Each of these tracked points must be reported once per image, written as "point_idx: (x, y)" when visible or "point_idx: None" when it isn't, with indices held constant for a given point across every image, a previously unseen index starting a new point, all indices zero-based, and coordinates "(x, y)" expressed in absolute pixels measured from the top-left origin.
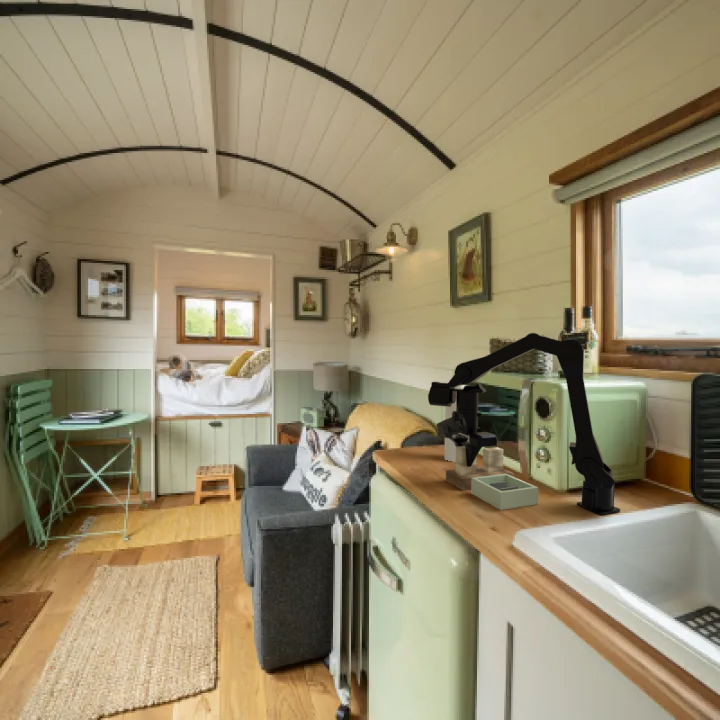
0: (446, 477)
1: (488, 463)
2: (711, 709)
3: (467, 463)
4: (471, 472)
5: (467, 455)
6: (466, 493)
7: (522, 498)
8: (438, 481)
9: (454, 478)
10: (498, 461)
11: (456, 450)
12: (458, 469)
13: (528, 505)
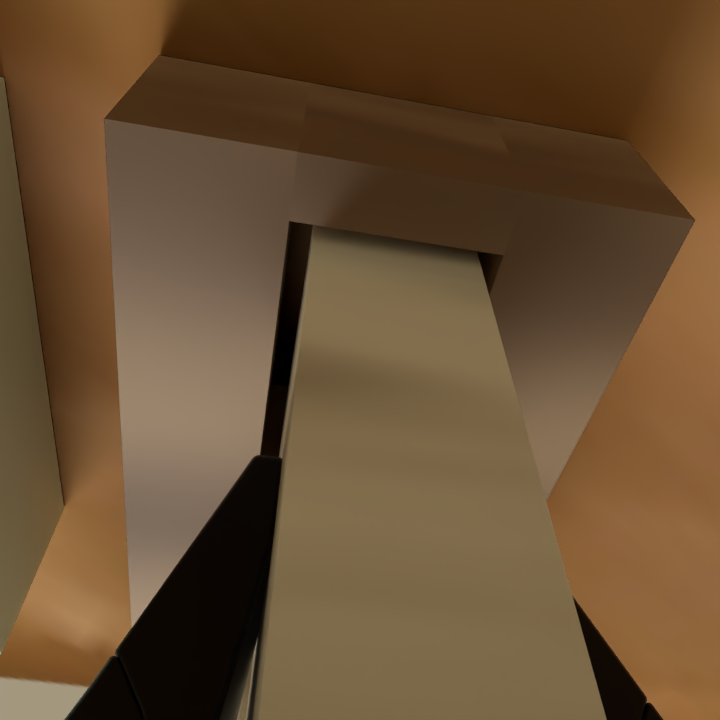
0: (630, 163)
1: (244, 709)
2: None
3: (246, 495)
4: (283, 435)
5: (156, 659)
6: (28, 11)
7: None
8: (703, 8)
9: (395, 140)
10: None
11: (557, 694)
12: (390, 304)
13: None
